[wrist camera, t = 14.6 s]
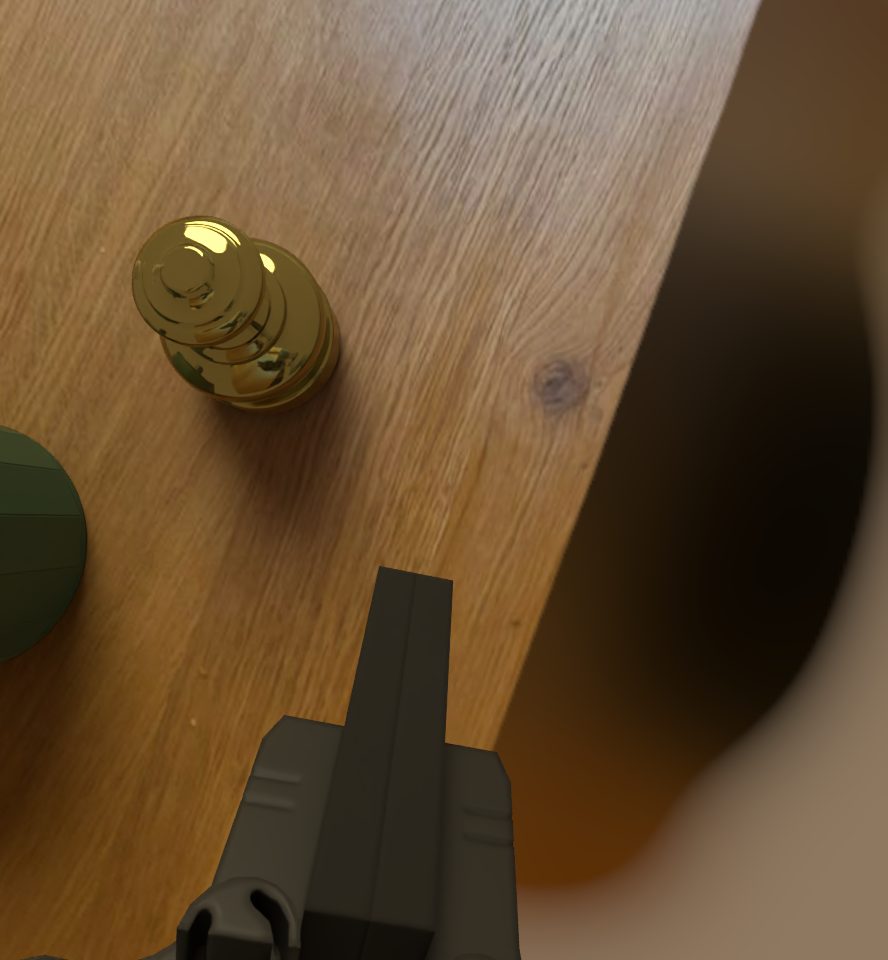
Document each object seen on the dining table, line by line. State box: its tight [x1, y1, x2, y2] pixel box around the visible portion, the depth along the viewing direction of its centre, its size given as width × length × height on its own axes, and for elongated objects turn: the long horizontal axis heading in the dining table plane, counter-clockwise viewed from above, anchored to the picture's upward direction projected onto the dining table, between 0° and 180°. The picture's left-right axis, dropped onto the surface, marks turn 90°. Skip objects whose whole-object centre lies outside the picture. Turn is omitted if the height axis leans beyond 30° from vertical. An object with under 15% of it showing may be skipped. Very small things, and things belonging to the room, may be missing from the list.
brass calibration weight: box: [132, 215, 340, 414], centre depth 29 cm, size 7×7×10 cm
